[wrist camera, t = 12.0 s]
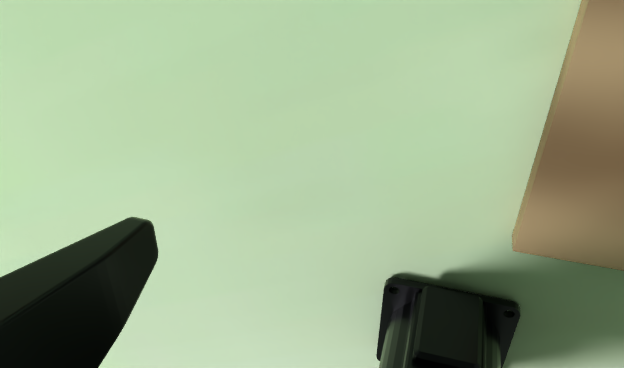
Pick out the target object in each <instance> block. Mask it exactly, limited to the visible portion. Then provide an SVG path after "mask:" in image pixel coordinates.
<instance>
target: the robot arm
mask: <svg viewBox="0 0 624 368" xmlns="http://www.w3.org/2000/svg"><path fill="white" fill-rule="evenodd" d="M157 258H158V247H157V242H156V236H155V231H154V226H153V224H152V222H151V221H149V220H146V219H141V218H137V217H130V218H127V219H125V220H123V221H120V222H118V223H116V224H114V225H112V226H110V227H108V228H105V229H103V230H101V231H99V232H97V233H95V234H93V235H90V236H88V237H86V238H84V239H82V240H80V241H77V242H75V243H73V244H71V245H69V246H67V247H65V248H62V249H60V250H58V251H56V252H54V253H52V254H50V255H47V256H45V257H43V258H41V259H39V260H37V261H34V262H32V263H30V264H28V265H26V266H24V267H22V268H19V269H17V270H15V271H13V272H11V273H9V274H7V275H4V276H2V277H0V368H98V367H99V366H100V364H101V362H102V361H103V359H104V358H105V356H106V355H107V353H108V351H109V350H110V348H111V347H112V345H113V344H114V342H115V341H116V339H117V337H118V336H119V334H120V332H121V331H122V329H123V327H124V326H125V324H126V322H127V320H128V318H129V316H130V314H131V312H132V310H133V308H134V306H135V304H136V302H137V300H138V298H139V296H140V294H141V292H142V290H143V288H144V286H145V284H146V282H147V280H148V278H149V276H150V274H151V272H152V270H153V268H154V266H155V264H156V262H157ZM392 287H396V288H392ZM507 310H511V311H507ZM519 318H520V306H519V305H518V304H517V303H516V302H514V301H510V300H505V299H500V298H495V297H490V296H485V295H480V294H475V293H470V292H465V291H460V290H455V289H450V288H445V287H440V286H435V285H430V284H425V283H419V282H414V281H409V280H404V279H399V278H389V279H388V280H386V283H385V287H384V294H383V302H382V311H381V320H380V329H379V338H378V347H377V359H378V360H379V361H380V365H379V368H502V366H503V364H504V361H505V358H506V355H507V352H508V349H509V347H510V344H511V341H512V338H513V335H514V332H515V329H516V327H517V324H518V321H519Z"/></svg>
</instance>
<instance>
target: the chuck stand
mask: <svg viewBox="0 0 624 368" xmlns="http://www.w3.org/2000/svg"><path fill="white" fill-rule="evenodd" d="M512 245H513V251H516V252H521V253H527V254H533V255H538V256H544V257H550V258H555V259H561V260H567V261H572V262H578V263H583V264H589V265H595V266H600V267H606V268H612V269H617V270H623V271H624V0H582V1H581V5H580V8H579V12H578V15H577V18H576V22H575V25H574V28H573V32H572V35H571V39H570V42H569V45H568V49H567V52H566V56H565V59H564V62H563V66H562V69H561V72H560V76H559V79H558V83H557V86H556V89H555V93H554V96H553V99H552V103H551V106H550V110H549V113H548V116H547V120H546V123H545V126H544V130H543V133H542V137H541V140H540V143H539V147H538V150H537V153H536V157H535V160H534V164H533V167H532V170H531V174H530V177H529V180H528V184H527V187H526V191H525V194H524V197H523V201H522V204H521V207H520V211H519V214H518V218H517V221H516V224H515V228H514V231H513V234H512Z"/></svg>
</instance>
